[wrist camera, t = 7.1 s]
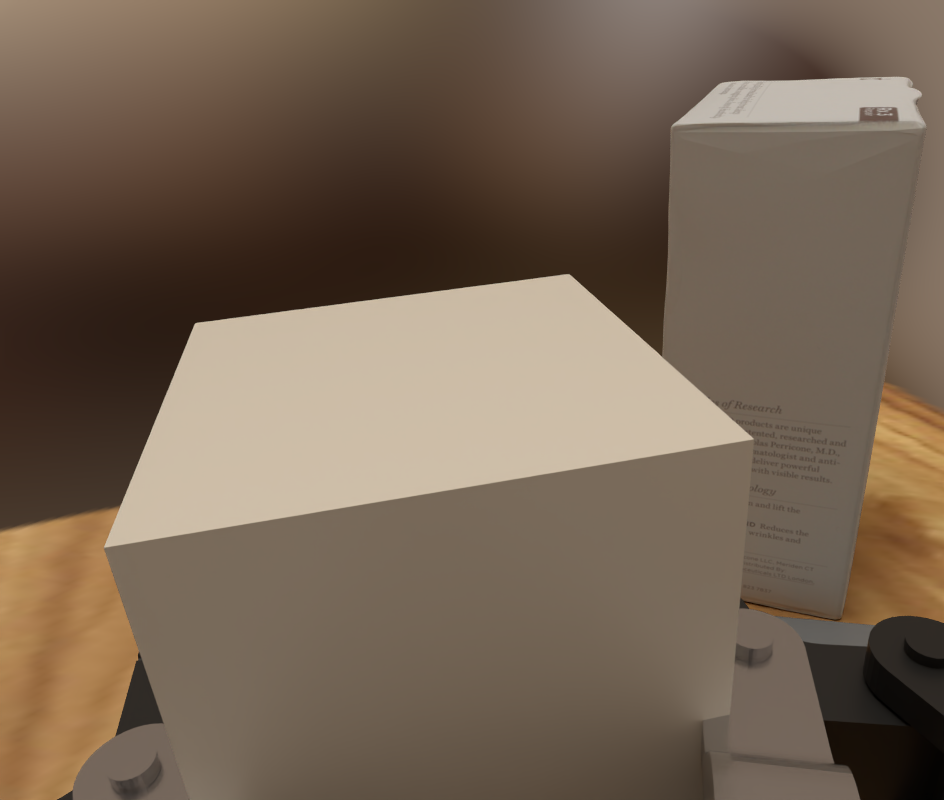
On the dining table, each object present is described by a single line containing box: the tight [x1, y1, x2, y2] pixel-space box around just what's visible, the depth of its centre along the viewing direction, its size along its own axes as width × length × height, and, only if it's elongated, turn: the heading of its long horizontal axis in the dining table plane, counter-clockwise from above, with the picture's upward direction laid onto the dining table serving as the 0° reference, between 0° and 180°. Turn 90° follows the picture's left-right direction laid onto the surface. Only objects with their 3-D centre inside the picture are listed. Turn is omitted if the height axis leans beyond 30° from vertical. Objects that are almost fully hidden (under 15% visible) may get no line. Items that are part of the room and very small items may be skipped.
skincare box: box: [663, 77, 927, 620], centre depth 24 cm, size 8×6×15 cm
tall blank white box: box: [104, 274, 754, 800], centre depth 11 cm, size 5×5×11 cm
